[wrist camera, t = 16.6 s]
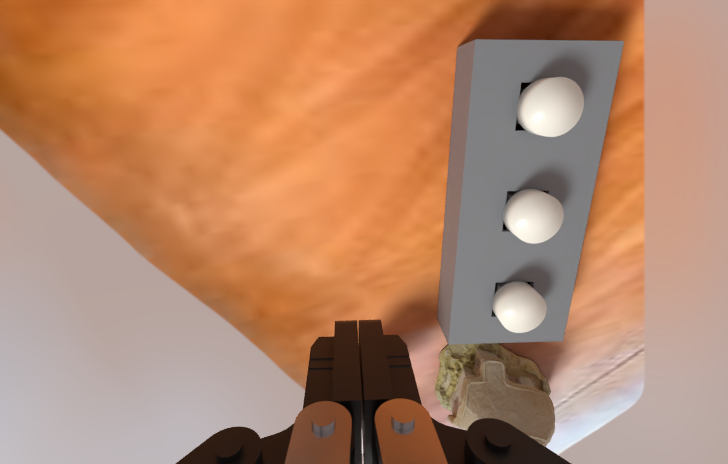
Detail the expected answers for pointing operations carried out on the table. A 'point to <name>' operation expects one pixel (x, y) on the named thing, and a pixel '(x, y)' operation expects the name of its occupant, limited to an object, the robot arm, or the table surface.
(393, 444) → the robot arm
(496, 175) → the control panel
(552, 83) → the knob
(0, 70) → the table surface
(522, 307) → the knob outer
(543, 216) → the knob middle
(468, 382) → the ceramic model
